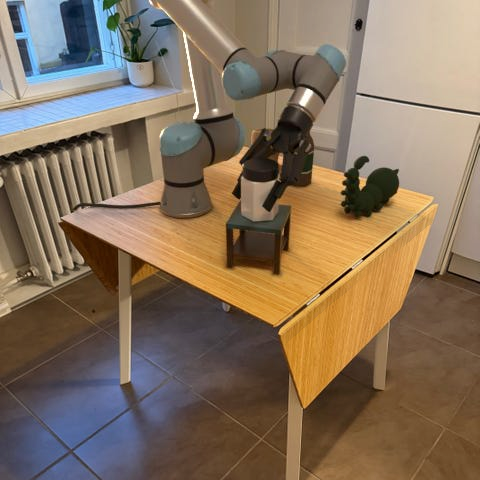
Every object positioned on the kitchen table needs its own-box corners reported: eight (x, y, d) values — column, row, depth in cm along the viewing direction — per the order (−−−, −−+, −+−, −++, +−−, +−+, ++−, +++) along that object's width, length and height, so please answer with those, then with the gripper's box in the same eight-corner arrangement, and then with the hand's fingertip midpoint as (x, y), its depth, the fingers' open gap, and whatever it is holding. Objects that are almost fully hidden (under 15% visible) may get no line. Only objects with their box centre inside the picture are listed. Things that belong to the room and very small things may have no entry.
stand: (227, 267, 115) (225, 223, 108) (240, 242, 125) (240, 200, 118) (278, 274, 113) (281, 229, 105) (288, 248, 122) (291, 205, 115)
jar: (285, 215, 111) (288, 165, 103) (259, 226, 107) (260, 174, 99) (260, 203, 116) (261, 154, 109) (234, 212, 112) (233, 162, 105)
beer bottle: (315, 184, 155) (323, 106, 140) (296, 189, 152) (301, 110, 137) (302, 176, 160) (307, 101, 145) (283, 181, 157) (286, 104, 142)
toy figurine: (357, 232, 132) (407, 199, 144) (364, 168, 119) (418, 137, 131) (331, 221, 138) (381, 190, 149) (335, 158, 125) (389, 130, 136)
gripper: (344, 134, 103) (293, 224, 104) (271, 115, 115) (226, 196, 116) (333, 114, 97) (278, 210, 98) (257, 96, 109) (209, 182, 110)
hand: (250, 202), depth 107 cm, fingers closed on jar, 9 cm apart
